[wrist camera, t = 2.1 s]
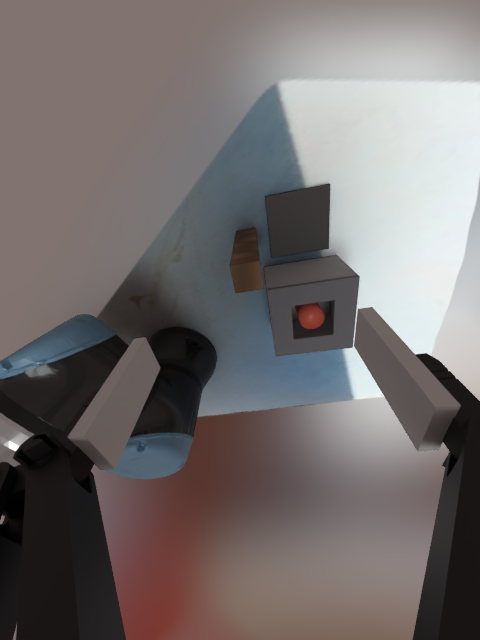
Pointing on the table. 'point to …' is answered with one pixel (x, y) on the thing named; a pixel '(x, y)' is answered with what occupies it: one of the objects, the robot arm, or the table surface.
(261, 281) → the wooden stick
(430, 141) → the table surface
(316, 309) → the red ball
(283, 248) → the mat
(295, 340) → the grey box with opening
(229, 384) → the table surface
